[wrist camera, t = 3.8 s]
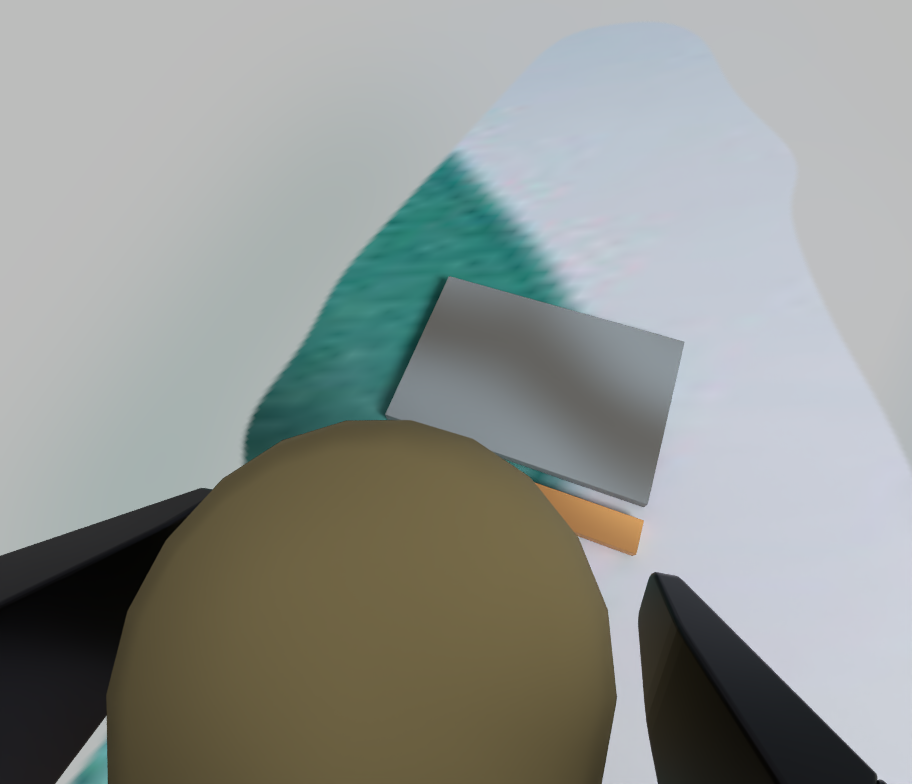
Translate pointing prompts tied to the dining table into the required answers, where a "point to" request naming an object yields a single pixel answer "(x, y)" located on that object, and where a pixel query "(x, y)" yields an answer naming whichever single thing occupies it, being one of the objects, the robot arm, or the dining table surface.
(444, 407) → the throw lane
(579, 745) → the cork
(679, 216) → the dining table surface
